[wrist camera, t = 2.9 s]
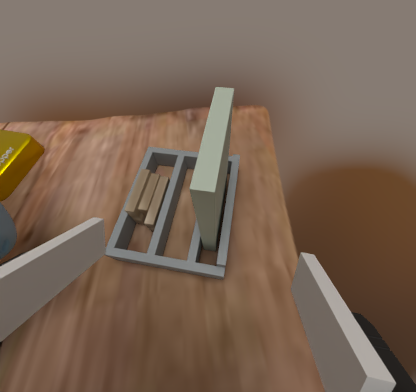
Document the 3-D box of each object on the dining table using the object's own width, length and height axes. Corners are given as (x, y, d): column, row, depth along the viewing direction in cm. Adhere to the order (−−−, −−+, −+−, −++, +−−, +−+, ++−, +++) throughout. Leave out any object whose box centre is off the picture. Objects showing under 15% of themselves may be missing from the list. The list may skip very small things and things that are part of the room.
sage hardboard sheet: (203, 249, 33) (189, 188, 15) (216, 184, 39) (215, 87, 21) (215, 251, 33) (214, 192, 15) (226, 185, 39) (234, 88, 21)
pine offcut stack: (136, 229, 35) (121, 216, 30) (151, 186, 39) (141, 168, 34) (160, 233, 35) (149, 220, 29) (173, 189, 39) (166, 171, 34)
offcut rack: (115, 259, 33) (96, 251, 27) (154, 159, 42) (145, 139, 37) (223, 279, 31) (224, 275, 25) (237, 169, 40) (240, 149, 35)
